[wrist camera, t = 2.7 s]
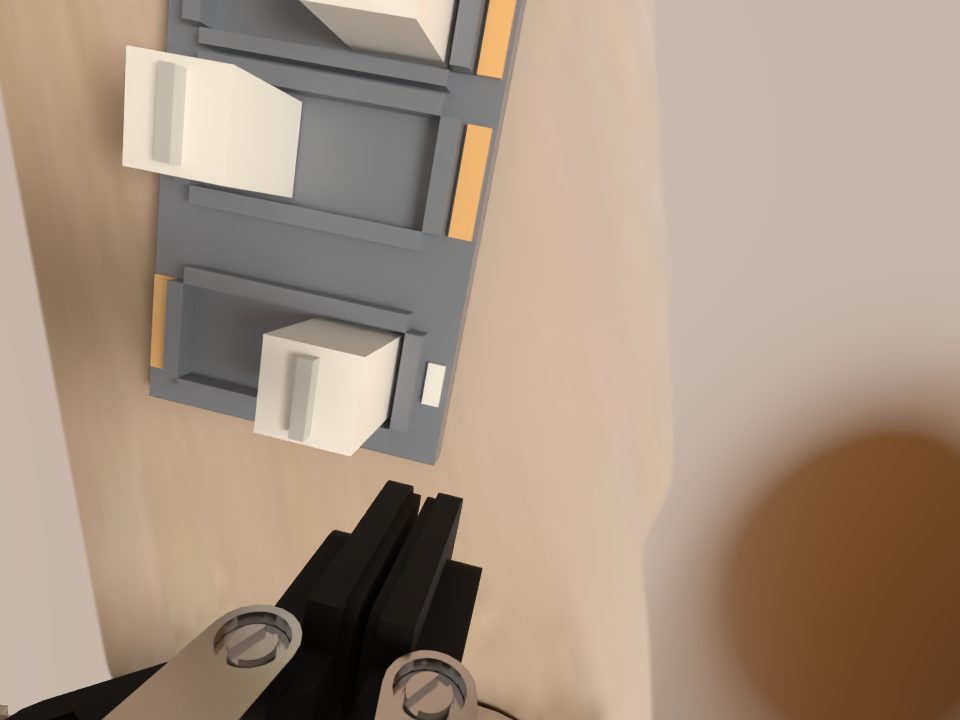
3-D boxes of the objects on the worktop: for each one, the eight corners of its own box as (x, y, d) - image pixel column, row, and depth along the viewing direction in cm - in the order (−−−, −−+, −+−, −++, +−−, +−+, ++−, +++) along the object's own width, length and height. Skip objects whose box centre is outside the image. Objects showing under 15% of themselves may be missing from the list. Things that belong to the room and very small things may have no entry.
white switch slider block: (389, 415, 25) (344, 462, 20) (310, 396, 26) (245, 437, 20) (403, 334, 25) (359, 360, 19) (320, 316, 25) (254, 336, 19)
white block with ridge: (292, 197, 24) (214, 184, 18) (209, 181, 24) (109, 163, 19) (302, 102, 23) (223, 58, 18) (215, 86, 23) (112, 38, 18)
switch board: (439, 456, 27) (400, 524, 20) (165, 389, 28) (47, 433, 22) (533, -38, 22) (522, -159, 15) (192, -89, 23) (48, -221, 17)
